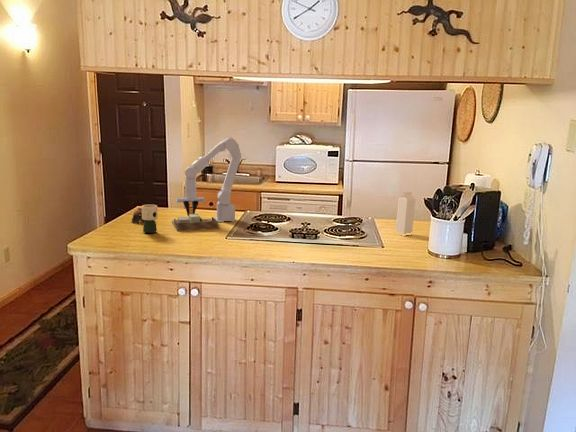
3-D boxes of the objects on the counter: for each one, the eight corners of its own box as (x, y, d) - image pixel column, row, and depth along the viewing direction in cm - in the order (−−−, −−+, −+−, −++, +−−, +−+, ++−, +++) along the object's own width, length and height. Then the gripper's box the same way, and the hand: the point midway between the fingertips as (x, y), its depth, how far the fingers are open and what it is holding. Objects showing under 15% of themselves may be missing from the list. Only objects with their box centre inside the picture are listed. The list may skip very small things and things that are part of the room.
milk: (395, 234, 256) (398, 191, 252) (403, 232, 260) (406, 190, 255) (404, 236, 252) (407, 193, 247) (412, 235, 255) (416, 192, 250)
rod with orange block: (194, 217, 266) (194, 208, 265) (200, 224, 254) (200, 213, 253) (186, 218, 265) (186, 208, 264) (190, 224, 252) (190, 214, 251)
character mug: (154, 236, 234) (154, 208, 231) (139, 235, 234) (138, 208, 231) (160, 230, 244) (159, 203, 241) (145, 229, 244) (145, 203, 241)
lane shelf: (210, 220, 267) (210, 213, 266) (218, 229, 251) (218, 221, 250) (171, 222, 260) (171, 214, 259) (177, 231, 243) (177, 223, 243)
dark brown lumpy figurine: (127, 222, 259) (133, 207, 261) (144, 228, 263) (150, 214, 265) (134, 221, 249) (140, 205, 251) (152, 228, 253) (158, 213, 255)
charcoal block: (186, 224, 253) (186, 216, 252) (189, 227, 247) (189, 219, 246) (177, 225, 251) (177, 217, 250) (179, 227, 246) (179, 220, 245)
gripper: (177, 191, 255) (178, 217, 258) (206, 190, 260) (206, 216, 263) (175, 189, 261) (175, 214, 264) (203, 188, 267) (203, 213, 270)
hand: (190, 215), depth 264 cm, fingers closed on rod with orange block, 2 cm apart
